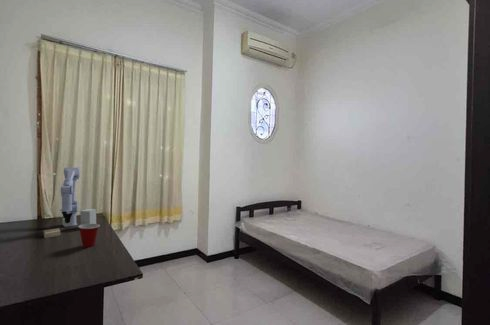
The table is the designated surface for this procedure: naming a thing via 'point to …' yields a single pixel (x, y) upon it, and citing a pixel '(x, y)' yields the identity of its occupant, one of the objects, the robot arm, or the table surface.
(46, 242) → the table surface
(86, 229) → the plastic cup
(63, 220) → the sage cube
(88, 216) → the supplement box
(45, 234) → the beech base
